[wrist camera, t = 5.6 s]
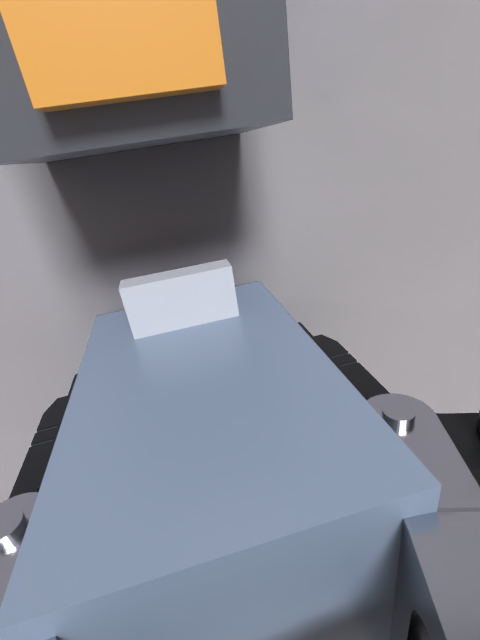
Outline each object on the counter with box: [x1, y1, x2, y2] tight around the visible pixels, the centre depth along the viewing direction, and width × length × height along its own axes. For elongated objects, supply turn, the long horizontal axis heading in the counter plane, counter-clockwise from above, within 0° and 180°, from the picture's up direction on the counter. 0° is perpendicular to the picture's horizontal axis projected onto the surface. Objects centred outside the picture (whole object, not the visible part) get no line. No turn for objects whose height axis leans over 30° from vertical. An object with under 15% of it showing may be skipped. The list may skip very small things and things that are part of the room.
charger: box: [0, 259, 441, 640], centre depth 8 cm, size 4×10×7 cm, turn 8°
